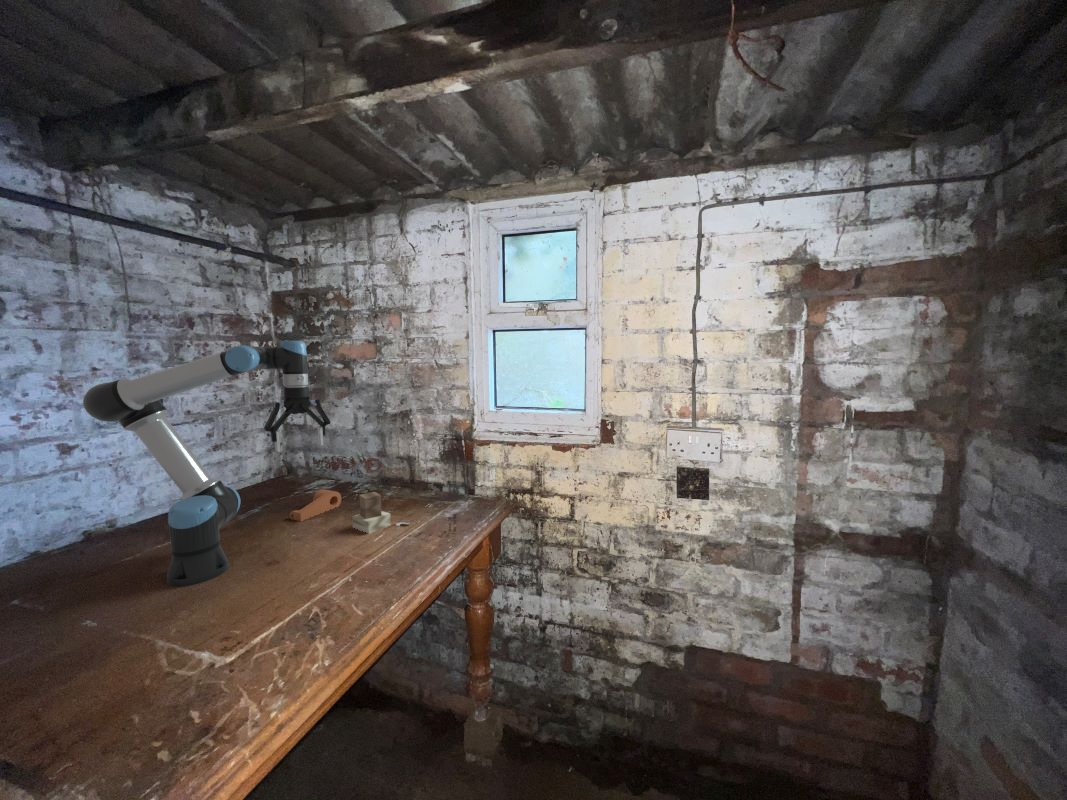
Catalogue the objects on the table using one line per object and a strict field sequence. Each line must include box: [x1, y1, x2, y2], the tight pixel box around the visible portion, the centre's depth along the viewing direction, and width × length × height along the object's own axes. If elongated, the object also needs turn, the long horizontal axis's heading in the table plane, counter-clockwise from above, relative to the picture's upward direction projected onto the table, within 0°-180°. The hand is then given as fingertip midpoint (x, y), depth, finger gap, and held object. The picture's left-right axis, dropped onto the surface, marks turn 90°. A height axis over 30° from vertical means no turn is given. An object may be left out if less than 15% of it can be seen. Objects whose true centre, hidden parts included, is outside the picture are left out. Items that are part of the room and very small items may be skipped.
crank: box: [289, 489, 342, 522], centre depth 182 cm, size 20×8×8 cm, turn 156°
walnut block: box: [358, 491, 382, 519], centre depth 166 cm, size 6×6×8 cm
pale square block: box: [351, 510, 392, 535], centre depth 167 cm, size 10×10×5 cm
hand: (300, 447), depth 148 cm, fingers open, 13 cm apart
